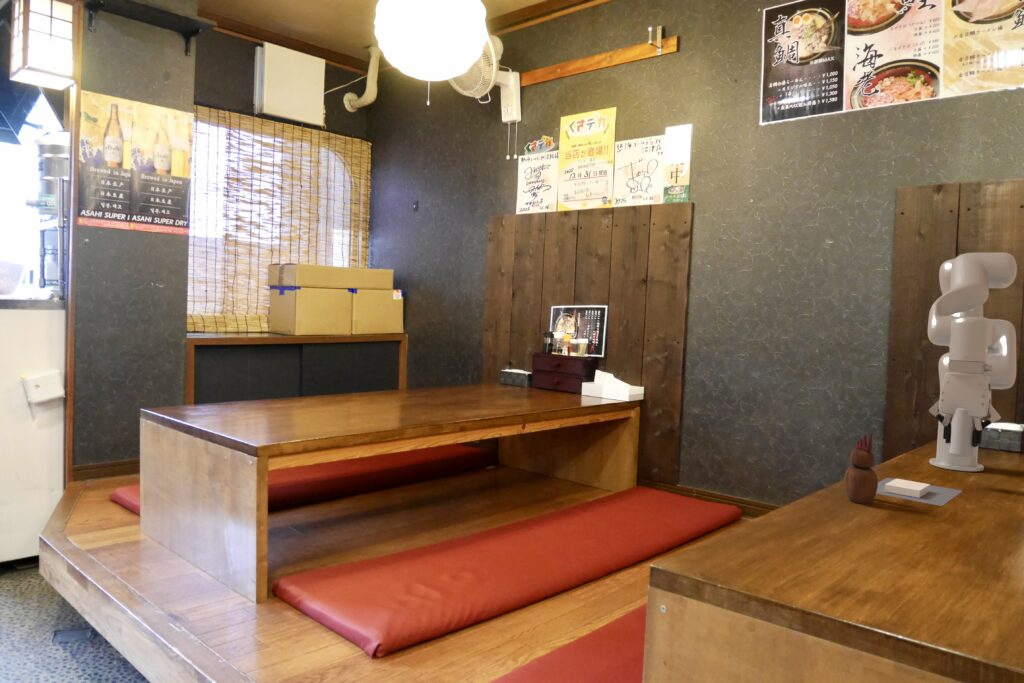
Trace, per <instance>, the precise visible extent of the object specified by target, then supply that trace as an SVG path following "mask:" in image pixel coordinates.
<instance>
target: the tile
mask: <svg viewBox="0 0 1024 683" xmlns="http://www.w3.org/2000/svg"><path fill="white" fill-rule="evenodd" d="M894 479H895V480H893V481H891V482H889V483H887V484H885V492H889V493H894V494H900V495H905V496H910V497H915V498H920V497H921V496H923V495H925V494H926V493H928V492H929V491H930V485H931V483H925V482H918V481H914V480H913V481H912V480H909V479H908V480H907V479H902V478H894Z"/></svg>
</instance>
